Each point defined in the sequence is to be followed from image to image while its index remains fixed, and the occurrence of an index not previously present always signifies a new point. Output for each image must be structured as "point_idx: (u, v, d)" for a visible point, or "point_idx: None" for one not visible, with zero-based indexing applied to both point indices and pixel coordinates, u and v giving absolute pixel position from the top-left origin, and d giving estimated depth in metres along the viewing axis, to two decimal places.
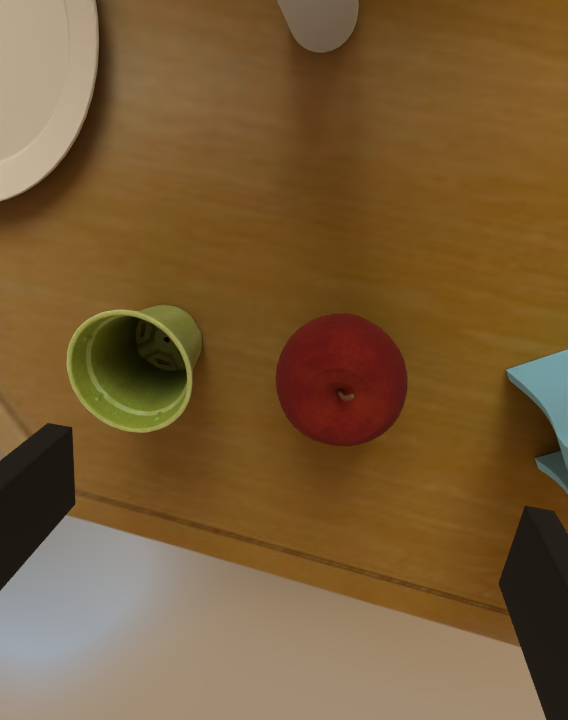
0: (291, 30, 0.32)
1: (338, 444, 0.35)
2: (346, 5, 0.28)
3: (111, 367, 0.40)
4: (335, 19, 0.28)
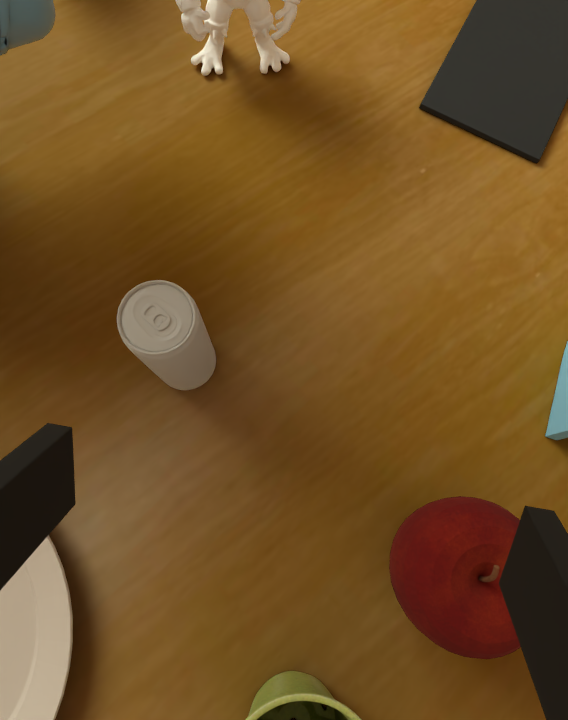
0: (178, 385, 0.37)
1: None
2: (206, 335, 0.33)
3: None
4: (206, 348, 0.34)
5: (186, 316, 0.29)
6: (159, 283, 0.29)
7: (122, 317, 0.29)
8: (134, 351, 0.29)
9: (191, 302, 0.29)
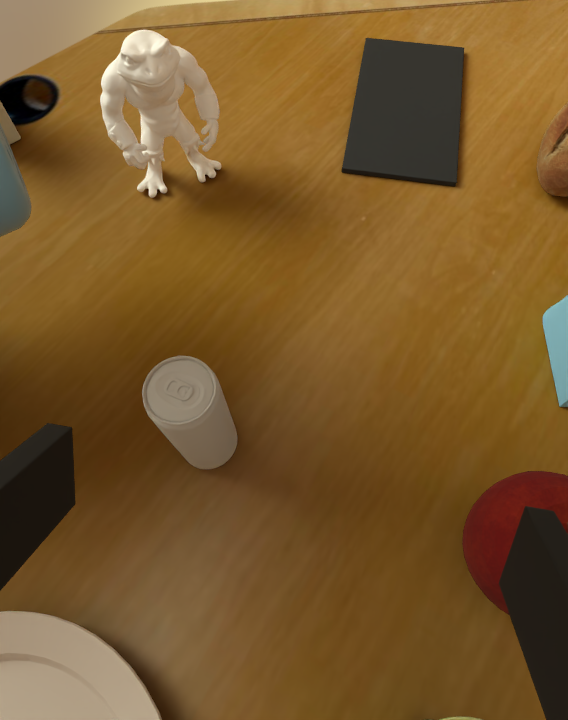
0: (209, 462, 0.38)
1: None
2: (225, 400, 0.35)
3: None
4: (228, 413, 0.35)
5: (206, 381, 0.31)
6: (173, 360, 0.31)
7: (148, 399, 0.30)
8: (167, 427, 0.30)
9: (207, 367, 0.31)
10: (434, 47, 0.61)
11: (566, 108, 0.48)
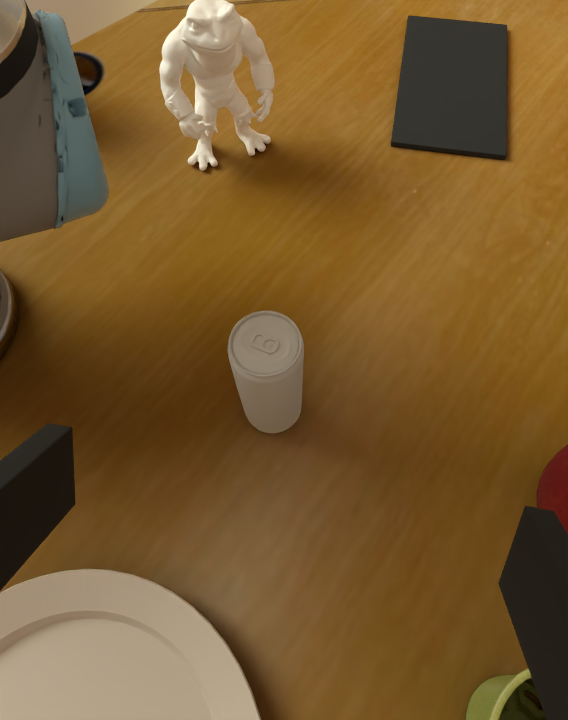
0: (278, 424, 0.38)
1: None
2: None
3: None
4: None
5: (291, 334, 0.31)
6: (256, 314, 0.32)
7: (234, 352, 0.30)
8: (254, 379, 0.30)
9: (291, 321, 0.31)
10: (477, 24, 0.61)
11: None
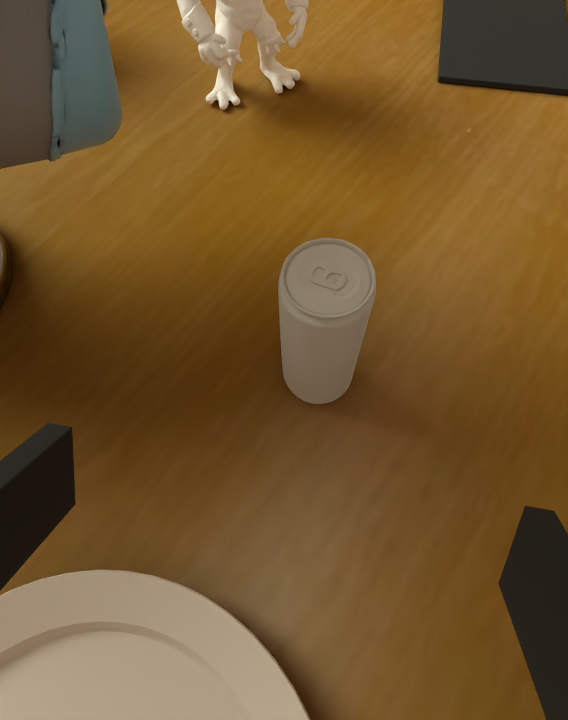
0: (329, 391, 0.31)
1: None
2: None
3: None
4: None
5: (360, 266, 0.24)
6: (314, 243, 0.25)
7: (289, 288, 0.24)
8: (315, 323, 0.23)
9: (360, 250, 0.24)
10: None
11: None
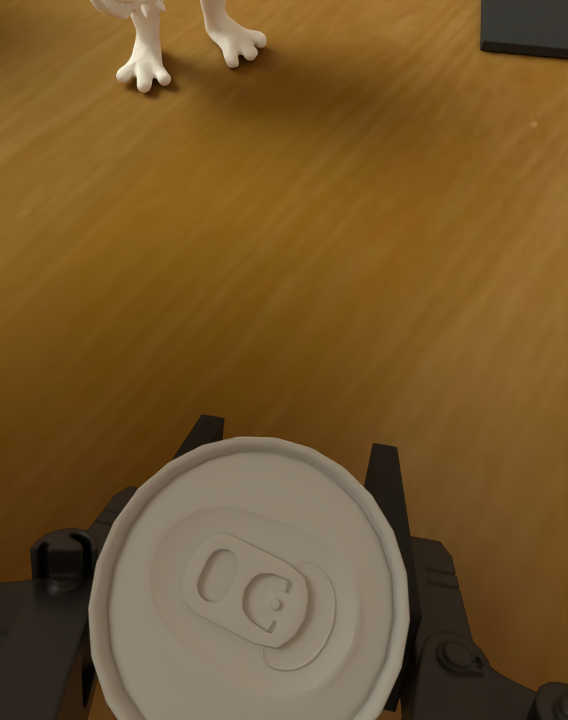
0: None
1: None
2: None
3: None
4: None
5: (359, 547, 0.07)
6: (216, 454, 0.08)
7: (114, 640, 0.07)
8: None
9: (356, 487, 0.08)
10: None
11: None
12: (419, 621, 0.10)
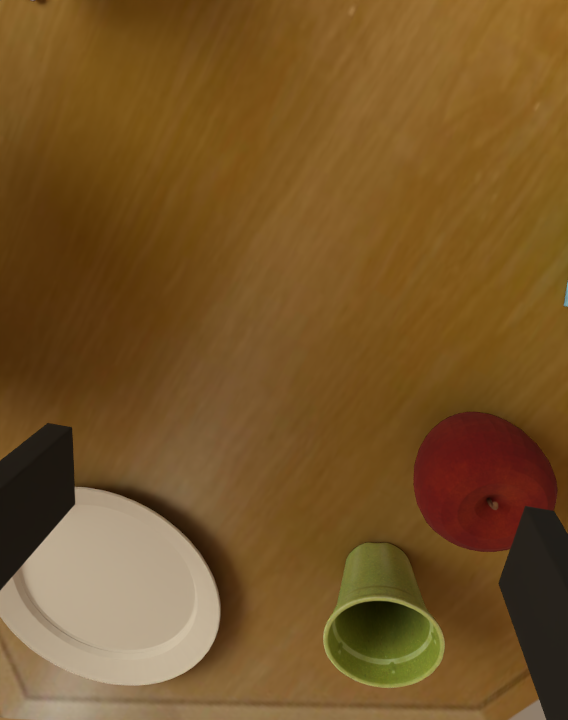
0: None
1: None
2: None
3: (375, 634, 0.45)
4: None
5: None
6: None
7: None
8: None
9: None
10: None
11: None
12: None
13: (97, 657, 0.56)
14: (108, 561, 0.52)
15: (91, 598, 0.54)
